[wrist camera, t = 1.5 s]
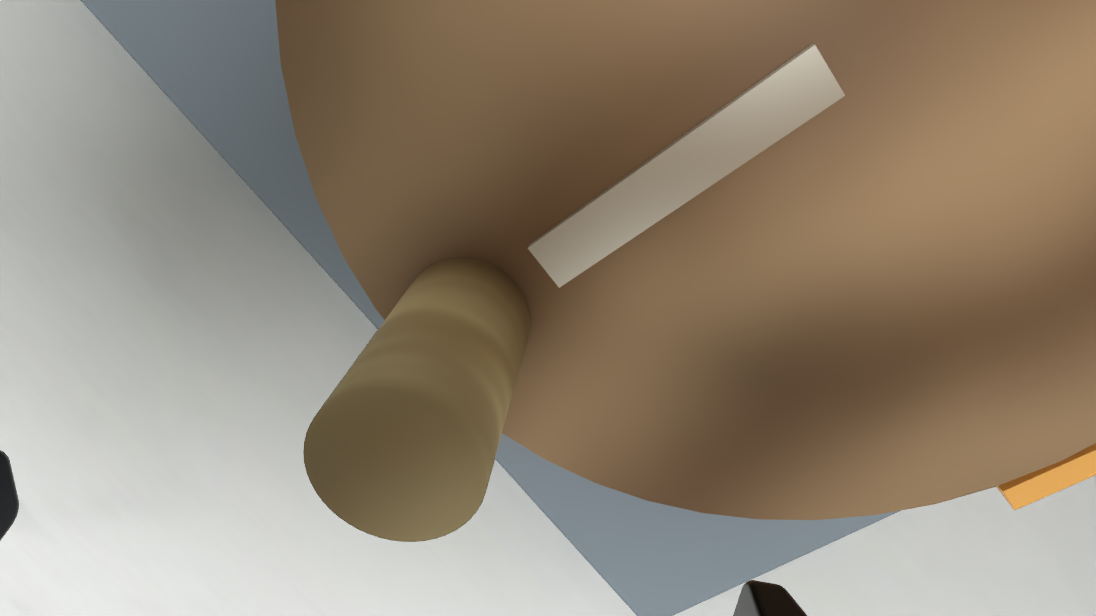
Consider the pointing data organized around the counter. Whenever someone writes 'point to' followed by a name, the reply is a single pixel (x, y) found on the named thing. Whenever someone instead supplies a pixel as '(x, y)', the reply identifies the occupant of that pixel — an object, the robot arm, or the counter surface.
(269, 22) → the base plate
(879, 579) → the counter surface
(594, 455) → the cam dial
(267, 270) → the counter surface
